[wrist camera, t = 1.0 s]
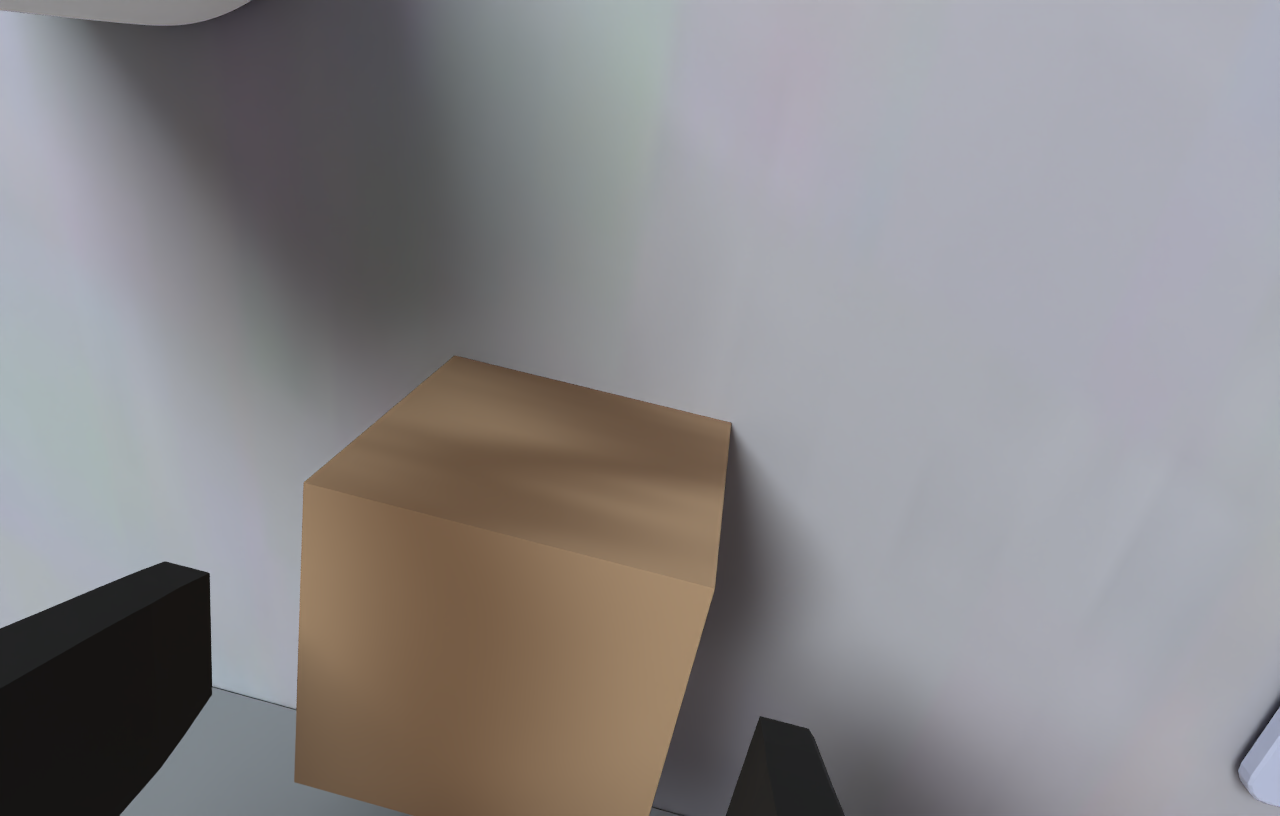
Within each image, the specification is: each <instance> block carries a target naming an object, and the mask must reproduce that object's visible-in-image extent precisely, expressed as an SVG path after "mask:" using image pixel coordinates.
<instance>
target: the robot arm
mask: <svg viewBox="0 0 1280 816" xmlns="http://www.w3.org/2000/svg"><path fill="white" fill-rule="evenodd" d="M211 696H212V662H211V617H210V573H208V572H204V571H200V570H196V569H192V568H188V567H185V566H181V565H177V564H173V563H169V562H162V563H159V564H157V565H154V566H151V567H149V568H146V569H143V570H141V571H138V572H136V573H133V574H131V575H128V576H126V577H123V578H121V579H118V580H116V581H113V582H111V583H109V584H106V585H104V586H101V587H99V588H96V589H94V590H92V591H89V592H87V593H85V594H82V595H80V596H77V597H75V598H73V599H70V600H68V601H66V602H63V603H61V604H58V605H56V606H54V607H51V608H49V609H47V610H44V611H42V612H39V613H37V614H35V615H32V616H30V617H27V618H25V619H22V620H20V621H18V622H15V623H13V624H10V625H8V626H6V627H3V628H1V629H0V816H120V814H121V813H122V812H123V811H124V810H125V809H126V808H127V806H128V805H129V804H130V803H131V802H132V801H133V800H134V798H135V797H136V796H137V795H138V794H139V793H140V792H141V790H142V789H143V788H144V787H145V786H146V785H147V784H148V782H149V781H150V780H151V779H152V778H153V777H154V775H155V774H156V773H157V772H158V771H159V770H160V768H161V767H162V766H163V764H164V763H165V762H166V760H167V759H168V757H169V756H170V755H171V753H172V752H173V751H174V749H175V748H176V746H177V745H178V744H179V742H180V741H181V739H182V738H183V737H184V735H185V734H186V732H187V731H188V730H189V728H190V727H191V725H192V724H193V722H194V721H195V719H196V718H197V716H198V715H199V713H200V712H201V710H202V709H203V707H204V706H205V704H206V703H207V702H208V700H209V699H210V697H211ZM1238 773H1239V778H1240V780H1241V781H1242V783H1243V784H1244V786H1245V787H1246V789H1247V790H1248V791H1249V793H1250V794H1251V795H1252V796H1253V797H1254V798H1255V799H1257V800H1259V801H1261V802H1263V803H1266V804H1270V805H1274V806H1277V807H1280V707H1279V709H1278V710H1277V712H1276V713H1275V715H1274V716H1273V718H1272V719H1271V720H1270V722H1269V723H1268V725H1267V726H1266V728H1265V729H1264V731H1263V732H1262V734H1261V735H1260V736H1259V738H1258V739H1257V741H1256V742H1255V744H1254V745H1253V747H1252V748H1251V749H1250V751H1249V752H1248V754H1247V755H1246V757H1245V758H1244V760H1243V761H1242V763H1241V765H1240V767H1239V770H1238ZM726 816H845V815H844V812H843V810H842V808H841V805H840V803H839V800H838V798H837V795H836V793H835V790H834V788H833V786H832V783H831V780H830V778H829V775H828V773H827V770H826V768H825V765H824V762H823V760H822V757H821V755H820V752H819V749H818V747H817V744H816V741H815V739H814V737H813V735H812V734H811V732H810V730H809V729H807V728H803V727H799V726H795V725H792V724H788V723H784V722H780V721H776V720H772V719H769V718H765V717H761V716H760V718H759V721H758V723H757V726H756V729H755V732H754V735H753V738H752V741H751V744H750V747H749V750H748V752H747V755H746V758H745V761H744V764H743V767H742V770H741V773H740V776H739V779H738V781H737V784H736V787H735V790H734V793H733V796H732V799H731V802H730V805H729V808H728V810H727V813H726Z"/></svg>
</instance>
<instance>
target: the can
mask: <svg viewBox="0 0 1280 816" xmlns="http://www.w3.org/2000/svg"><path fill="white" fill-rule="evenodd" d="M250 1H251V0H0V10H2V11H11V12H20V13H29V14H39V15H48V16H57V17H66V18H76V19H86V20H96V21H105V22H115V23H127V24H139V25H154V26H171V25H185V24H192V23H198V22H202V21H206V20H210V19H213V18H216V17H219V16H221V15H224V14H226V13H229V12H231V11H233V10H235V9H237V8H239V7H241V6H243V5H245V4H246V3H248V2H250Z"/></svg>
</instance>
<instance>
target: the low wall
mask: <svg viewBox="0 0 1280 816" xmlns="http://www.w3.org/2000/svg"><path fill="white" fill-rule="evenodd" d="M295 740H296V710H293V709H290V708H286V707H282V706H279V705H275V704H272V703H268V702H264V701H261V700H257V699H253V698H250V697H246V696H242V695H239V694H235V693H231V692H228V691H224V690H220V689H217V688H213V687H212V696H211V697H210V699H209V700H208V702H207V703H206V704H205V706H204V707H203V709H202V710H201V712H200V713H199V715H198V716H197V718H196V719H195V721H194V722H193V724H192V725H191V727H190V728H189V730H188V731H187V732H186V734H185V735H184V737H183V738H182V739H181V741H180V742H179V744H178V745H177V746H176V748H175V749H174V751H173V752H172V753H171V755H170V756H169V757H168V759H167V760H166V762H165V763H164V764H163V766H162V767H161V768H160V770H159V771H158V772H157V773H156V774H155V775H154V777H153V778H152V779H151V780H150V781H149V782H148V784H147V785H146V786H145V787H144V788H143V789H142V790H141V792H140V793H139V794H138V795H137V796H136V797H135V798H134V800H133V801H132V802H131V803H130V804H129V805H128V806H127V808H126V809H125V810H124V811H123V812H122V813H121V814H120V816H413V815H409V814H405V813H402V812H398V811H395V810H391V809H388V808H384V807H381V806H377V805H374V804H370V803H366V802H363V801H359V800H356V799H352V798H349V797H345V796H342V795H338V794H334V793H331V792H327V791H324V790H320V789H317V788H313V787H310V786H306V785H302V784H299V783H295V782H294V771H295ZM649 816H681V815H677V814H673V813H670V812H666V811H662V810H659V809H655V808H652V807H651V810H650V814H649Z"/></svg>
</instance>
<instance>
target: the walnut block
mask: <svg viewBox="0 0 1280 816" xmlns="http://www.w3.org/2000/svg"><path fill="white" fill-rule="evenodd" d="M730 430H731V423H730V422H726V421H722V420H718V419H713V418H709V417H705V416H701V415H697V414H693V413H689V412H685V411H681V410H677V409H672V408H668V407H664V406H660V405H656V404H652V403H648V402H644V401H640V400H635V399H631V398H627V397H623V396H619V395H615V394H611V393H607V392H603V391H599V390H594V389H590V388H586V387H582V386H578V385H574V384H570V383H566V382H562V381H557V380H553V379H549V378H545V377H541V376H537V375H533V374H529V373H525V372H521V371H516V370H512V369H508V368H504V367H500V366H496V365H492V364H488V363H484V362H479V361H475V360H471V359H467V358H463V357H459V356H453V357H452V358H451V359H450V360H449V361H447V362H446V363H445V364H444V365H443V366H441V367H440V368H439V369H438V370H437V371H436V372H434V373H433V374H432V375H431V376H430V377H428V378H427V379H426V380H425V381H424V382H423V383H421V384H420V385H419V386H418V387H417V388H415V389H414V390H413V391H412V392H411V393H409V394H408V395H407V396H406V397H405V398H404V399H402V400H401V401H400V402H399V403H398V404H396V405H395V406H394V407H393V408H392V409H390V410H389V411H388V412H387V413H386V414H385V415H383V416H382V417H381V418H380V419H379V420H377V421H376V422H375V423H374V424H373V425H371V426H370V427H369V428H368V429H367V430H366V431H364V432H363V433H362V434H361V435H360V436H358V437H357V438H356V439H355V440H354V441H352V442H351V443H350V444H349V445H348V446H347V447H345V448H344V449H343V450H342V451H341V452H339V453H338V454H337V455H336V456H335V457H333V458H332V459H331V460H330V461H329V462H328V463H326V464H325V465H324V466H323V467H322V468H320V469H319V470H318V471H317V472H316V473H314V474H313V475H312V476H311V477H310V478H309V479H307V480H306V481H305V482H304V489H303V520H302V551H301V583H300V614H299V646H298V677H297V708H296V740H295V771H294V782H295V783H299V784H302V785H306V786H310V787H313V788H317V789H320V790H324V791H327V792H331V793H334V794H338V795H342V796H345V797H349V798H352V799H356V800H359V801H363V802H366V803H370V804H374V805H377V806H381V807H384V808H388V809H391V810H395V811H398V812H402V813H405V814H409V815H413V816H649V814H650V810H651V807H652V804H653V800H654V797H655V793H656V790H657V786H658V783H659V779H660V776H661V773H662V769H663V766H664V762H665V759H666V755H667V752H668V748H669V745H670V741H671V738H672V735H673V731H674V728H675V724H676V721H677V717H678V714H679V710H680V707H681V704H682V700H683V697H684V693H685V690H686V686H687V683H688V679H689V676H690V673H691V669H692V666H693V662H694V659H695V655H696V652H697V648H698V645H699V641H700V638H701V635H702V631H703V628H704V624H705V621H706V617H707V614H708V610H709V607H710V604H711V600H712V597H713V593H714V590H715V582H716V572H717V562H718V552H719V542H720V532H721V521H722V511H723V501H724V491H725V481H726V471H727V461H728V451H729V440H730Z"/></svg>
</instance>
